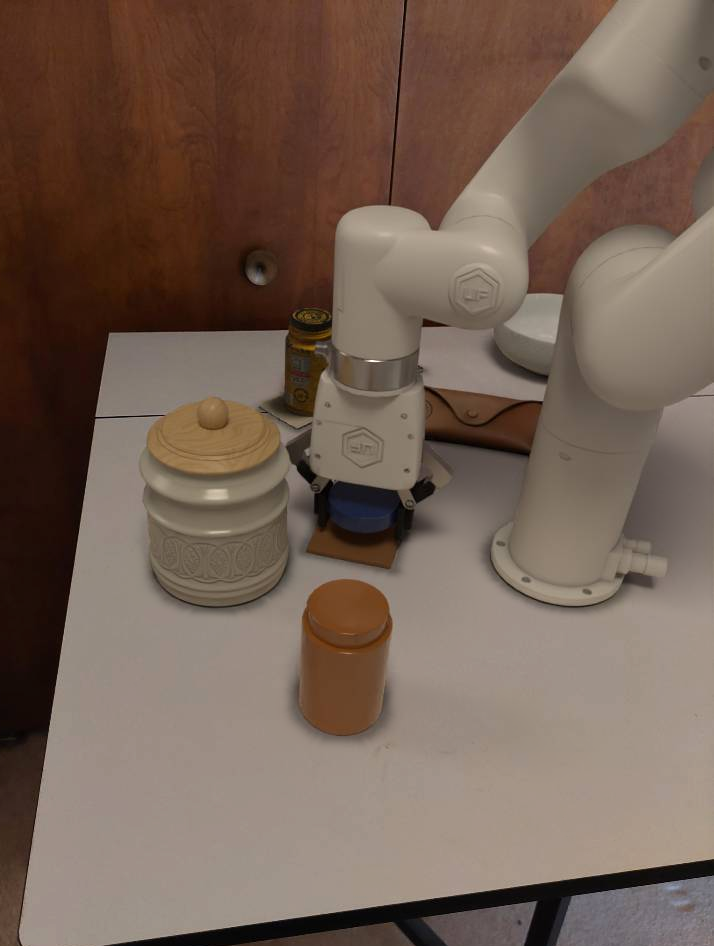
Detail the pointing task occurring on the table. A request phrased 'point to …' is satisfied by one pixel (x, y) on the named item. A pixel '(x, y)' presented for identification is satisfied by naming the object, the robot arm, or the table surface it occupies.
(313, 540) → the coaster
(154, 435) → the jar
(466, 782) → the table surface
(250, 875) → the table surface
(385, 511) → the lid
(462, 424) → the sunglasses case
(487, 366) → the table surface
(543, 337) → the cereal bowl
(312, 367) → the condiment
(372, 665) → the jam jar
